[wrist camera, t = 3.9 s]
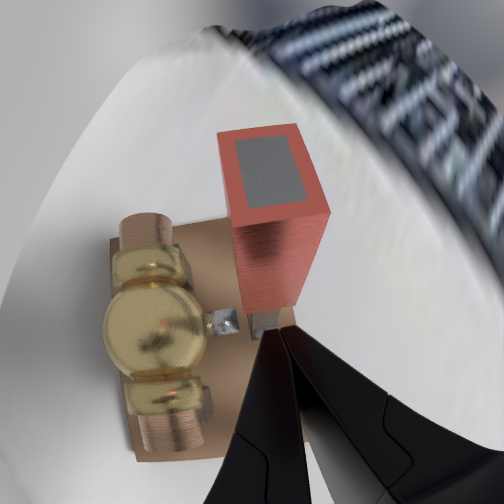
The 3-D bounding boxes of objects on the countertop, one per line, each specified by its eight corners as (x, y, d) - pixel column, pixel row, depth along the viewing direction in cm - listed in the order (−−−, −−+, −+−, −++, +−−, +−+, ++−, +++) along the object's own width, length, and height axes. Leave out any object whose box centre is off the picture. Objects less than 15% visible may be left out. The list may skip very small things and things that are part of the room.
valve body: (256, 415, 18) (261, 449, 10) (157, 427, 18) (104, 459, 10) (227, 251, 22) (215, 186, 14) (136, 266, 21) (82, 213, 13)
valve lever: (280, 339, 15) (330, 212, 5) (248, 346, 15) (232, 227, 5) (271, 297, 16) (295, 123, 6) (240, 303, 16) (216, 132, 6)
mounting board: (314, 435, 19) (318, 439, 17) (142, 457, 18) (137, 462, 17) (270, 218, 24) (271, 210, 23) (115, 244, 23) (110, 238, 22)
